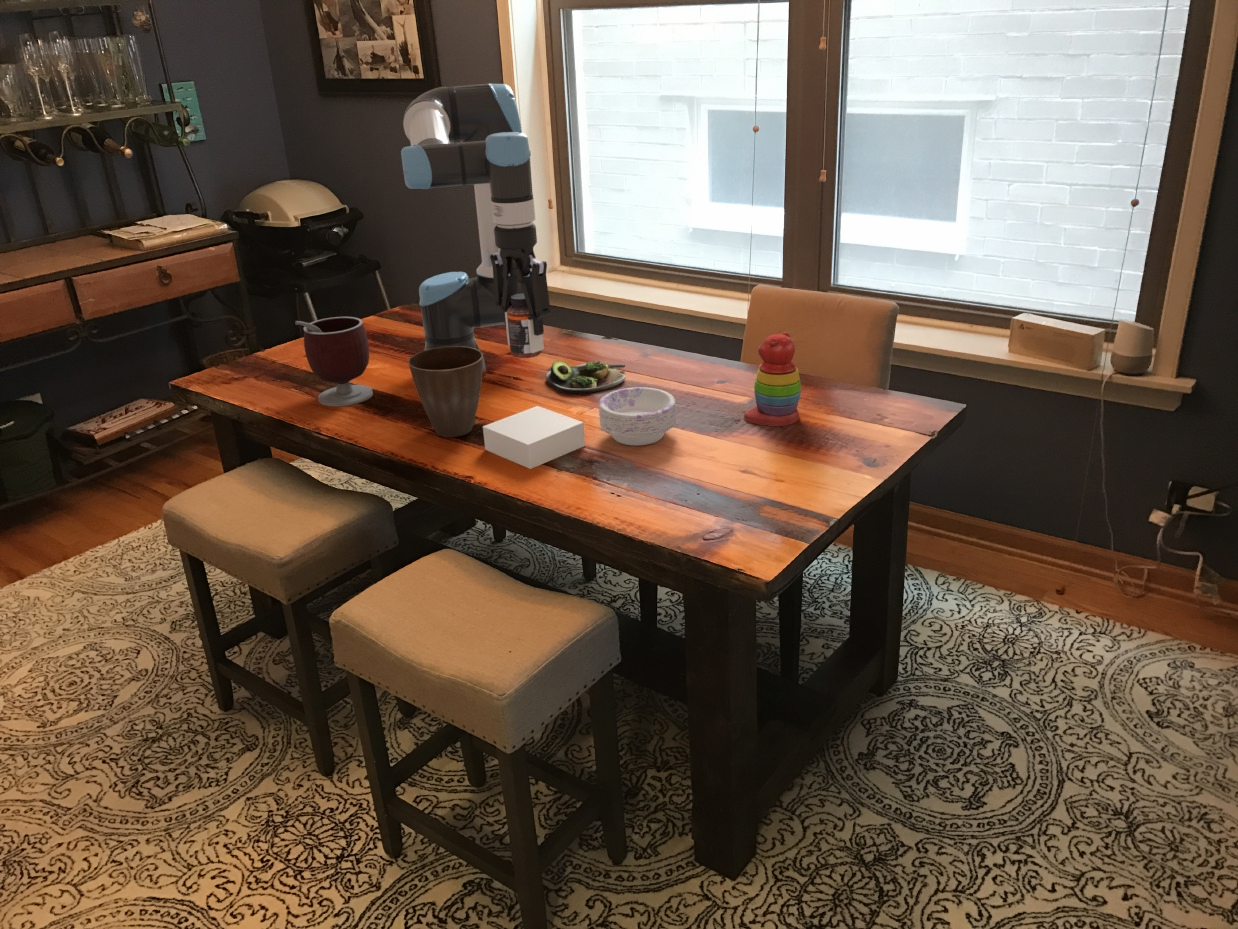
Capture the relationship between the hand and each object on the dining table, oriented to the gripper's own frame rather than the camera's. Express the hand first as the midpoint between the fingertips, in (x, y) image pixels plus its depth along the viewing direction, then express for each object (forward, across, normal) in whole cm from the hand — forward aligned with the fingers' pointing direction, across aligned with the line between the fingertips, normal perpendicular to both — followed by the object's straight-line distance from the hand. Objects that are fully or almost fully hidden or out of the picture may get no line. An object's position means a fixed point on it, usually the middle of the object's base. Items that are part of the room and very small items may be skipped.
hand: (525, 347), depth 186 cm
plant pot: (+21, -20, -5) cm, 29 cm away
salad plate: (+21, -21, +32) cm, 44 cm away
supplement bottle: (+2, 0, 0) cm, 2 cm away
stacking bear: (+21, +27, +42) cm, 54 cm away
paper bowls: (+21, +12, +17) cm, 30 cm away
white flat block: (+21, 0, 0) cm, 21 cm away
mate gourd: (+21, -57, -10) cm, 62 cm away
